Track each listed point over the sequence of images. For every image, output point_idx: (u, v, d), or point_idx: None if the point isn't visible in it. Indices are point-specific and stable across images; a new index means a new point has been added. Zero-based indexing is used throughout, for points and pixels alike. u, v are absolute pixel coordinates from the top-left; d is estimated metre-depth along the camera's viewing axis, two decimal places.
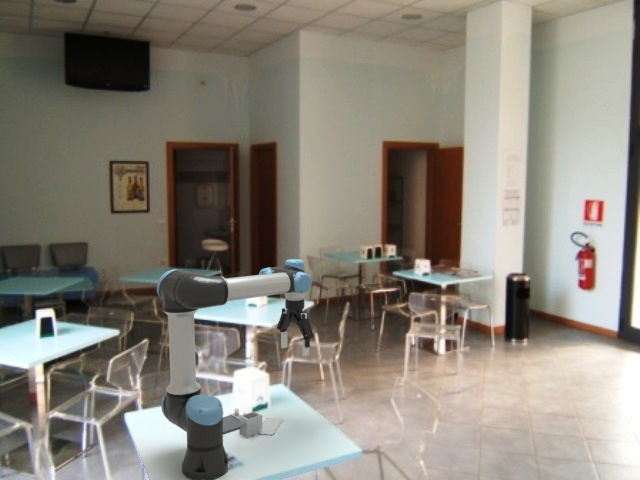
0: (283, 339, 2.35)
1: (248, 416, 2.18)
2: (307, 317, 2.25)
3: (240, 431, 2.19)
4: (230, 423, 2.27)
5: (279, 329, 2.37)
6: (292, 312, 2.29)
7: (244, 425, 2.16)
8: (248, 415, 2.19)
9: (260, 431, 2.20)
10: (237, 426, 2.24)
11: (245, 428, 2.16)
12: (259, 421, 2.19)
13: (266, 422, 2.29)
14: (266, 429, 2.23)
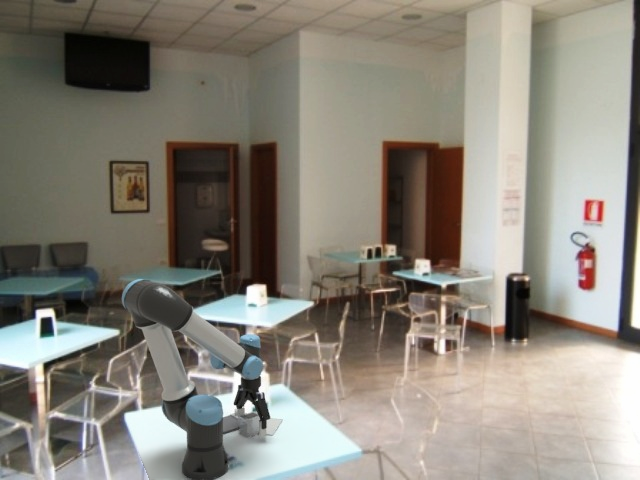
0: None
1: (248, 416, 2.18)
2: (263, 397, 2.14)
3: (240, 431, 2.19)
4: (230, 423, 2.27)
5: (236, 405, 2.25)
6: (248, 390, 2.18)
7: (244, 425, 2.16)
8: (248, 415, 2.19)
9: None
10: (237, 426, 2.24)
11: (245, 428, 2.16)
12: None
13: None
14: (266, 429, 2.23)
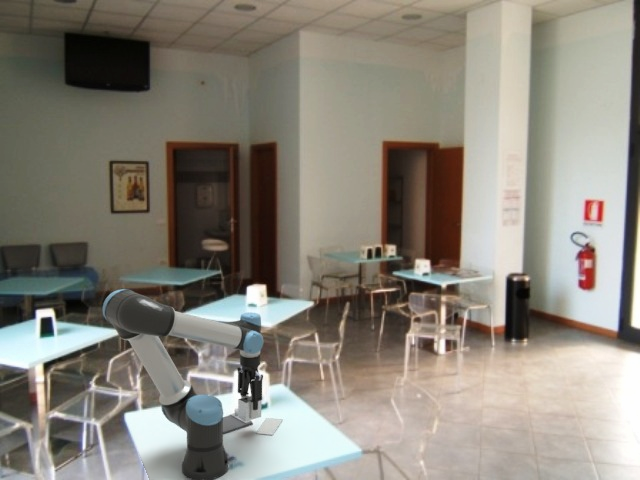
0: None
1: (247, 399, 2.17)
2: (261, 379, 2.13)
3: (239, 414, 2.18)
4: (230, 423, 2.27)
5: (240, 393, 2.21)
6: (247, 369, 2.17)
7: (244, 408, 2.15)
8: (247, 398, 2.18)
9: (259, 415, 2.19)
10: (237, 426, 2.24)
11: (244, 411, 2.15)
12: (258, 404, 2.18)
13: (266, 422, 2.29)
14: (266, 429, 2.23)
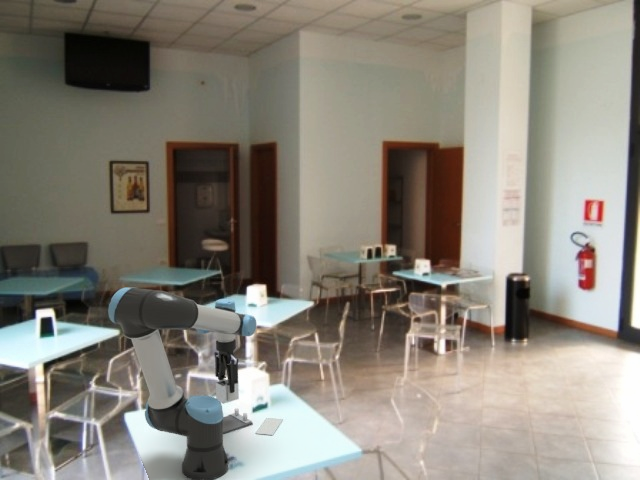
0: None
1: (224, 382, 2.24)
2: (236, 363, 2.20)
3: (217, 397, 2.25)
4: (230, 423, 2.27)
5: None
6: (223, 353, 2.23)
7: (221, 391, 2.22)
8: (224, 381, 2.25)
9: (236, 397, 2.26)
10: (237, 426, 2.24)
11: (221, 394, 2.22)
12: (235, 387, 2.25)
13: (266, 422, 2.29)
14: (266, 429, 2.23)
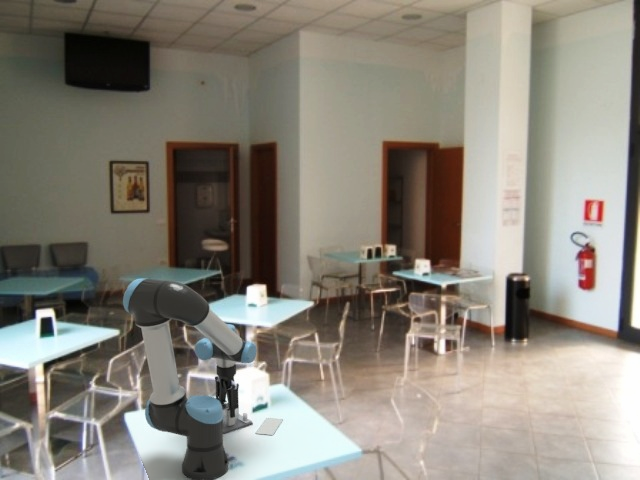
0: None
1: (225, 406, 2.25)
2: (237, 388, 2.21)
3: None
4: None
5: None
6: (223, 378, 2.24)
7: None
8: (225, 405, 2.26)
9: (236, 421, 2.27)
10: (237, 426, 2.24)
11: None
12: (235, 411, 2.26)
13: (266, 422, 2.29)
14: (266, 429, 2.23)
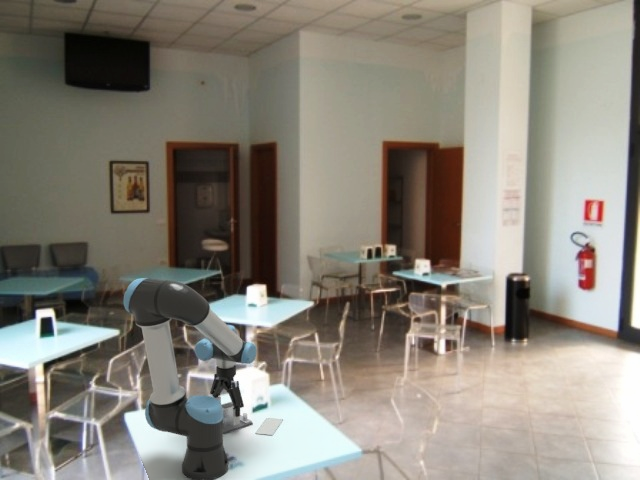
0: None
1: (225, 406, 2.25)
2: (237, 385, 2.20)
3: None
4: None
5: (212, 394, 2.32)
6: (223, 379, 2.24)
7: None
8: (225, 405, 2.26)
9: None
10: (237, 426, 2.24)
11: None
12: None
13: (266, 422, 2.29)
14: (266, 429, 2.23)
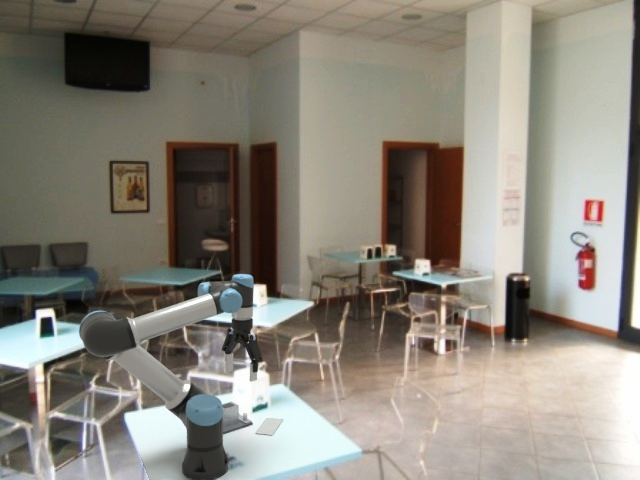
0: (228, 362, 2.13)
1: (225, 406, 2.25)
2: (255, 338, 2.04)
3: None
4: None
5: (224, 351, 2.15)
6: (239, 333, 2.07)
7: None
8: (225, 405, 2.26)
9: (236, 421, 2.27)
10: (237, 426, 2.24)
11: None
12: (235, 411, 2.26)
13: (266, 422, 2.29)
14: (266, 429, 2.23)
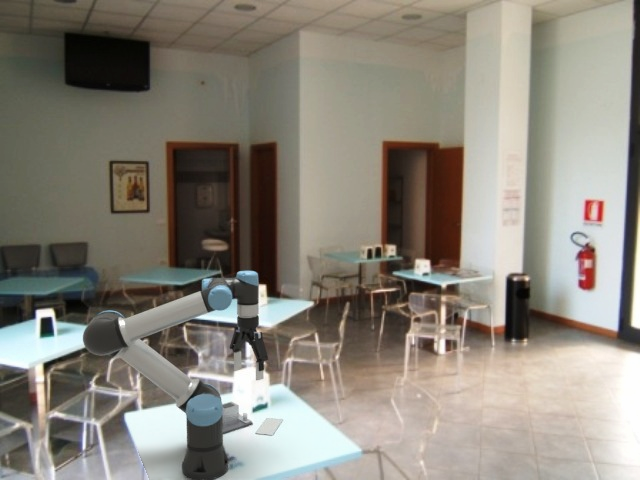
0: (236, 360, 2.10)
1: (225, 406, 2.25)
2: (261, 336, 1.99)
3: None
4: None
5: (232, 349, 2.11)
6: (245, 330, 2.03)
7: None
8: (225, 405, 2.26)
9: (236, 421, 2.27)
10: (237, 426, 2.24)
11: None
12: (235, 411, 2.26)
13: (266, 422, 2.29)
14: (266, 429, 2.23)
